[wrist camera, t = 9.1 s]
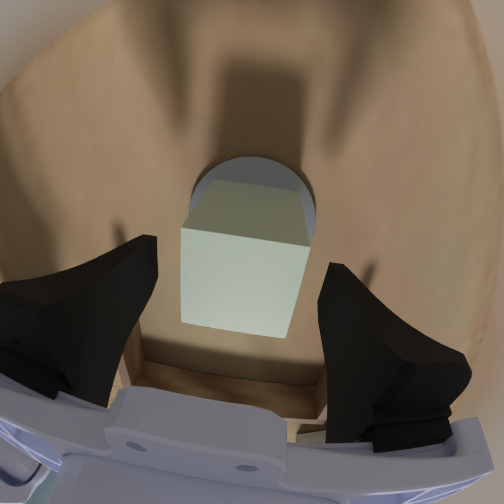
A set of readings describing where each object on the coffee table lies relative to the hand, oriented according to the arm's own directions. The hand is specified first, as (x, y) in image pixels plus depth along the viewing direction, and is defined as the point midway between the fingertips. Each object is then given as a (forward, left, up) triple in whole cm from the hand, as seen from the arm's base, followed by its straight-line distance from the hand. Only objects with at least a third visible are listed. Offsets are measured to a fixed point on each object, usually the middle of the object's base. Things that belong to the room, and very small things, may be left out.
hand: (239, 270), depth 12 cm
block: (0, 0, -5) cm, 5 cm away
